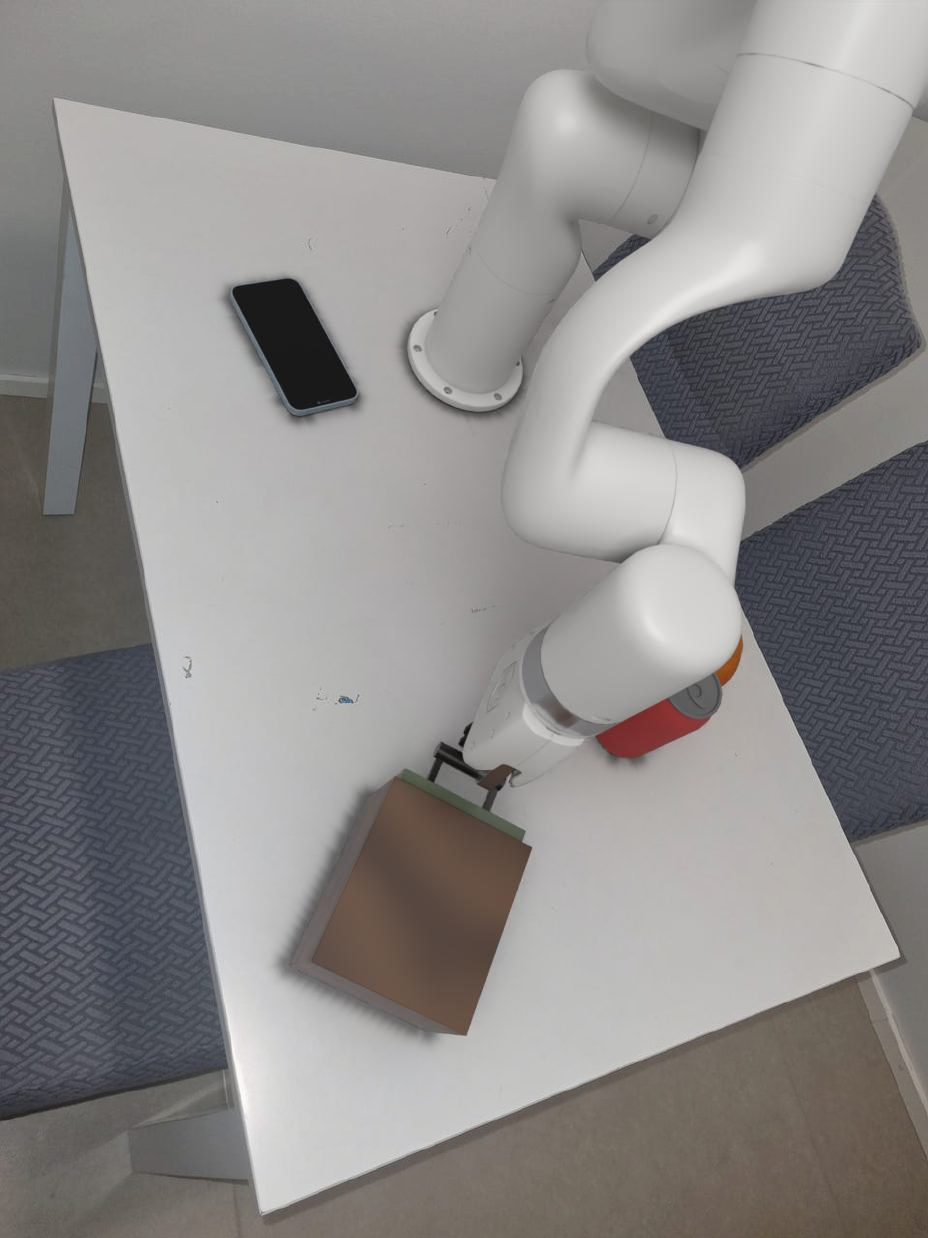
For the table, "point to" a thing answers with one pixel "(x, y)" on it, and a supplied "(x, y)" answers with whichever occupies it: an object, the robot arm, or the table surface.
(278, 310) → the smartphone
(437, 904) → the cabinet
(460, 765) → the drawer
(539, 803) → the table surface
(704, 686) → the beer can
